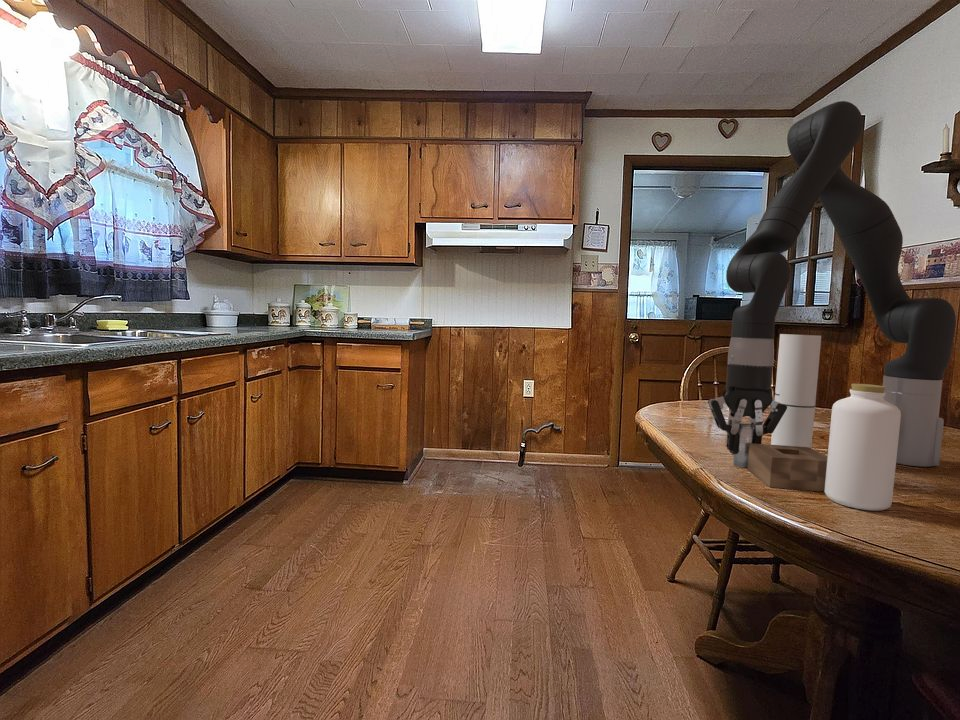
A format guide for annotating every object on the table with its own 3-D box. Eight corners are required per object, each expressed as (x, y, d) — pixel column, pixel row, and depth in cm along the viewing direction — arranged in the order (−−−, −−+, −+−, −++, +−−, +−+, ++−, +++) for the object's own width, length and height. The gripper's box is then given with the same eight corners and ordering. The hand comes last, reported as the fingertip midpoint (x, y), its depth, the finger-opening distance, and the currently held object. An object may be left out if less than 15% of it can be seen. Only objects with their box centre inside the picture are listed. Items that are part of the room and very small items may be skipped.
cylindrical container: (799, 453, 110) (809, 335, 108) (817, 462, 103) (829, 336, 101) (764, 450, 111) (773, 333, 109) (779, 459, 104) (790, 334, 102)
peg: (747, 464, 99) (750, 422, 99) (753, 468, 96) (756, 425, 96) (730, 462, 100) (734, 421, 99) (736, 467, 97) (739, 424, 96)
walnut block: (806, 474, 94) (808, 447, 93) (835, 492, 84) (838, 461, 83) (747, 470, 95) (749, 443, 95) (769, 487, 85) (772, 457, 85)
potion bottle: (895, 517, 73) (908, 390, 72) (824, 504, 78) (835, 384, 76) (887, 501, 80) (899, 385, 79) (823, 490, 85) (833, 380, 83)
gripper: (781, 362, 99) (774, 451, 101) (704, 359, 101) (698, 446, 103) (800, 366, 92) (791, 462, 93) (716, 362, 94) (709, 456, 95)
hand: (742, 453), depth 98 cm, fingers closed on peg, 3 cm apart
